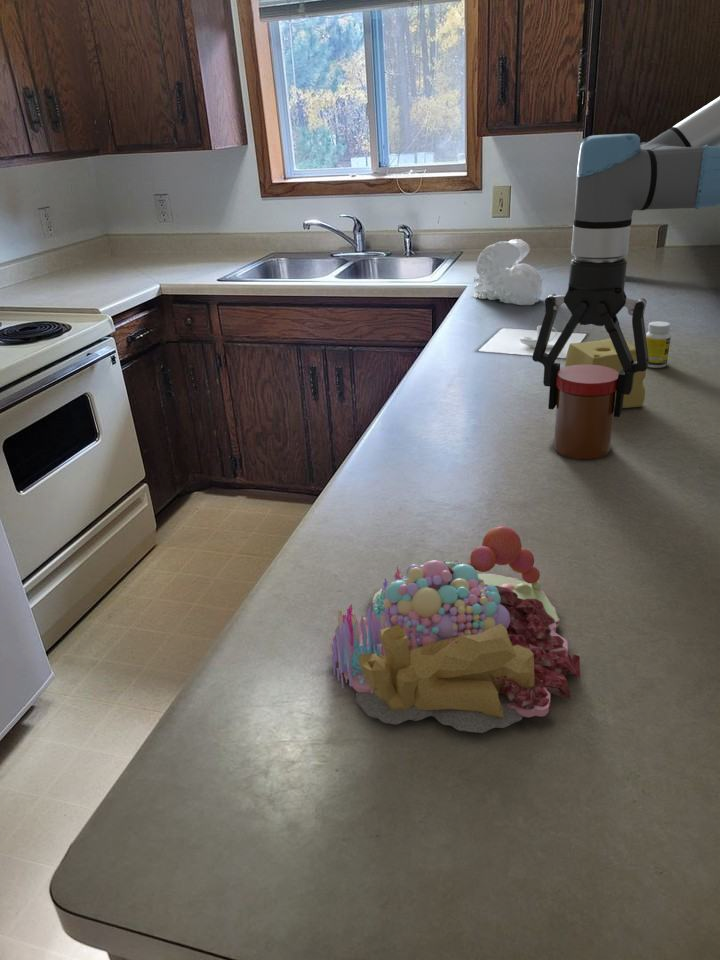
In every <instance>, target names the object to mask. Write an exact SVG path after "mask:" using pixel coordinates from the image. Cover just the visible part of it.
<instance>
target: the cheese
mask: <svg viewBox="0 0 720 960" xmlns="http://www.w3.org/2000/svg"><path fill="white" fill-rule="evenodd" d="M625 340H626V343H627V345H628V348H629V350H630V353H631V355H632V358H633V360H634V362H635V361H637V358H636V350H635V344H633V343H632V342H630V341H629V340H627V339H626V338H625ZM582 364H587V365H599V366H605V367H609V368H612V369H614V370H616V371H618V372H620V371H621V369H623V367H622V365H621V363H620V360H619V358H618V355H617V353H616V350H615V348H614V346H613V343H612V341H611V338H606V339H600V340H593V341H583V342H582V341H581V343H571V344H570V345H569V348H568V352H567V355H566V358H565V363H564V367H566V366H571V365H582ZM646 374H647V369H646V370H645V371H639V372H635V373H634V379H633V387H632V390H631V392H630V394H629V395H625V394H624V398H623V406H622V409H628V408H629V409H630V408H640V407H642V406H643V404H644V402H645V398H646V389H645V386H644V380H645V378H646V376H647V375H646ZM615 400H616V398H615Z"/></svg>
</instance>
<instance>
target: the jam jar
mask: <svg viewBox="0 0 720 960" xmlns="http://www.w3.org/2000/svg"><path fill="white" fill-rule="evenodd" d="M615 398H616V391H615V392H613V393H610V394H606V395H600V396H582V395H575V394H570V393H567V392H564V391H562V390H560V389H558V393H557V405H556V406H555V408H556V410H555V420H554V421H555V422H554V423H555V424H554V436H553V437H554V438H553V449H554V450H555V452H556V453H558V454H560V455H562V456H563V457H568V458H570V459H572V458H573V459H576V460H577V459H578V460H594V459H599V458H600V459H601V458H603V457H605V456H607V455H608V454H609V453H610V451H611V442H612V434H613V424H614V409H615Z"/></svg>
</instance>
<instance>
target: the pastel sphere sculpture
mask: <svg viewBox="0 0 720 960" xmlns="http://www.w3.org/2000/svg"><path fill="white" fill-rule="evenodd" d="M469 559H470V562H469V561H466V562H462V561H461V560H452V561H441V560H438V559H432V560H428V561H426V562H424V563H421V564H418V563H417V564H415V563H413V564H410V565H408V567H407V568H406V571H405V575H403V574H402V572H401V570H400V569H399V566H398V565H396V572H395V573H394V575H393V577H394V580H392V581H391V582H388V580H387V579H386V577H385V578H384V582H383V584H382V585H383V586H381V587H380V588H379V590H378V591H377V592H375V593H374V596H373V598H372V599H371V602H372V603H371V605H370V606H369V608H368V609H367V610H366V617H363V615H361V616H360V617H359V619H358V618H357V616H356V614H355V613H354V614H353V605H352V604H353V603H350V605H349V607H348V608H346V611H347V612H346V614H343V612H342V609H339V608H338V609H337V626H336V628H335V630H334V636H332V644H331V651H332V654H331V659H332V667H333V675H334V676H336V674H337V681H338V682H340V681H341V689H342V690H344V689H345V684H344V679H345V683H346V684H347V683H348V682H349V683H348V685H349V687H350V688H352V689H353V690H355V691H356V692H355V701H356V703H357V704H358V705H359V706H360V708H361V709H362V710H363V712H365V714H366V715H367V716H368V717H370V718H376V719H378V720H379V721H380V722H382V723H384V724H391V725H399V724H403V723H404V722H406V721H413V722H414V721H415V722H419V721H421V720H424V719H426V718H428V717H433V718H434V719H436V721H438V722H439V723H440V724H442V725H444V726H451V727H452V728H454V729H455V730H457V731H459V732H468V733H477V734H483V733H486V732H488V731H490V730H492V729H495V728H499V729H505V728H507V727H509V726H511V725H513V724H515V723H517V722H518V723H519V722H520V721H521V720H522V719H523V717H525V718H532V717H545V716H546V717H547V716H548V714H549V713H550V711H551V709H552V707H553V705H552V703H551V696H552V695H554V696H558V697H560V698H564V699H568V700H570V701H571V700H572V697H571V693H570V687H569V683H568V680H567V678H566V676H567V675H571V676H574V677H576V678H578V679H581V665H580V664H581V661H580V660H581V659H580V656H579V655H577V654H574V653H571V652H570V651H569V645H568V640H567V639H566V638H564V637H563V636H561V635H560V634H558V633H557V628H558V627H559V626H560V617H559V616H558V614H557V608H556V607H555V606H554V605H552V603H551V601H550V599H549V598H548V597H547V596H546V592H544V591H542V590H541V589H540V588H541V583H540V581H539V579H540V576H541V575H540V574H541V573H540V570H539V569H538V568H537V567H536V566H534V565H535V557H534V554H533V553H532V552H531V550H530V549H528V548H526V547H523V544H522V542H521V537H520V535H519V533H517V532H516V530H514V529H513V528H510V527H508V526H505V525H498V526H495V527H493V528H491V529H489V530H488V531H487V532H486V534H485V535H484V536H483V538H482V544H481V545H480V546H477V547H475V548H474V549H472V551H471V553H470V556H469ZM495 565H498V566H509V567H510V568H511V570H512V571H513V572H516V573H517V574H521V579H522V580H519V578H516V577H514V576H513V577H512V576H504V575H500V574H498V573H497V574H496V573H485V572H490V571H491V570H492V569H493V568H494V567H495ZM478 572H479V573H478ZM337 663H338V667H337Z"/></svg>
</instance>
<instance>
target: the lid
mask: <svg viewBox="0 0 720 960" xmlns="http://www.w3.org/2000/svg"><path fill="white" fill-rule="evenodd" d="M618 374H619V372H618V371H616V370H614V369H612V368H609V367H605V366H599V365H587V364H582V365H571V366H566V367H565V366H564V367H560V369H559V370H558V371H557V378H556V386H557V388H558V389H560V390H562V391H564V392H567V393H570V394H575V395H582V396H600V395H606V394H610V393H613V392H615V391H617V382H618Z"/></svg>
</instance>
